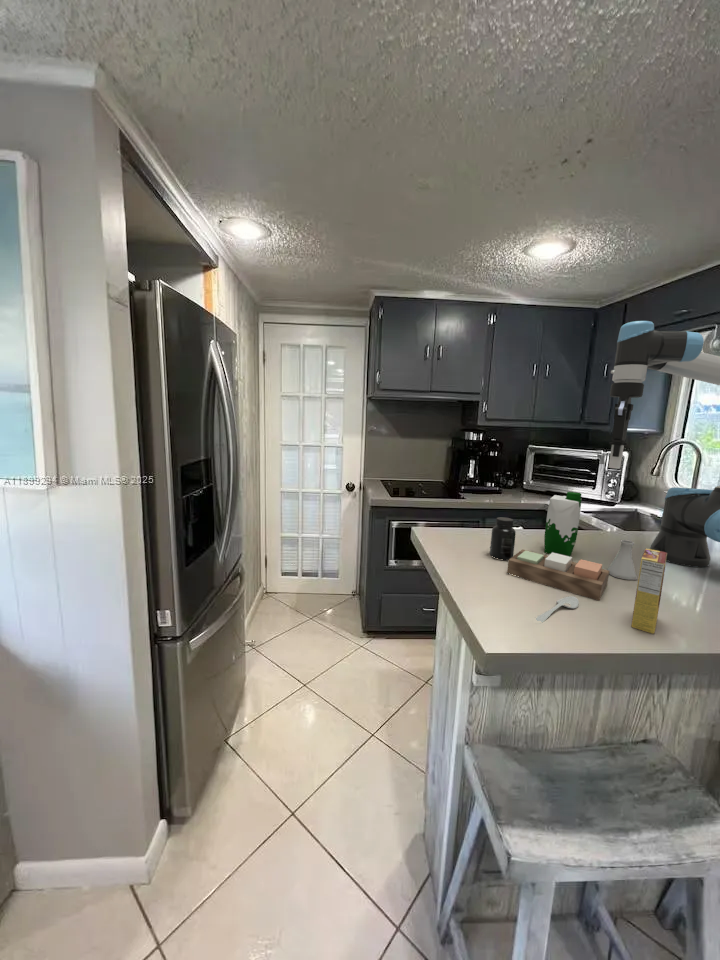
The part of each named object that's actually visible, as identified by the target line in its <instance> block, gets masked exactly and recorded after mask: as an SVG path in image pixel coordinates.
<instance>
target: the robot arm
mask: <svg viewBox="0 0 720 960" xmlns="http://www.w3.org/2000/svg"><path fill="white" fill-rule="evenodd" d="M704 343H705V339H704V337H703V335H702V334H701V333H700V332H697V331H696V332H694V331H688V330H685V331H677V330H676V331H672V330H671V331H666V330H665V331H664V330H663V331H662V330H660V331H659V330H655V323H653V321H649V320H635V321H634V320H633V321H630V322H629V321H628V322H627V323H625V324H623V325H621V327H620V330H619V333H618V337H617V341H616V350H615V351H616V352H615V358H614V360H615V361H614V366H613V369H611V370H610V374H612V379H611V381H613V383H612V384H611V385H610V390H609V396H610V398H618V402H617V403H615V404H614V416H613V419H614V420H613V427H612V435H611V442H610V441H609V442H608V445H610V446H611V448H610V454H609V460H608V466H607V467H608V469H609V468H610V469H617V470H619V469H621V466H622V460H623V459H622V458H623V454H624V448H625V447H624V446H627V445H628V443H627V442H626V440H627V433H628V428H629V423H630V422H629V421H630V420H631V417H632V416H631V415H632V412H633V409H634V404H632V398H637V399H638V398H642V397H643V396H644V395H643V394H644V388H645V384H644V383H643V382H645V381H646V379H647V374H648V373H647V371H648V370H653V371H658V372H662V373H667V374H670V375H674V376H677V377H682V378H686V379H691V380H695V381H700V382H704V383H708V384H712V385H716V386H720V355H715V354H712V353H711V354H710V353H707V352H702V350H703V348H704ZM707 538H709V539H711V540H712V541H714V542H717V543H720V485H718V486H715V487H714V488H713V489H705V488H692V487H689V488H688V487H675V486H674V487H670V488H669V489H668V490H667V491H666V494H665V497H664V505H663V511H662V517H661V522H660V528H659V531H658V533H657V535H656V536H655V537H654V539H653V541H652V542H651V543H650V546H649V549H651V550H657V551H662V552H666V553H667V557H666V562H667V563H668V562H669V563H671V564H672V563H673V564H675V565H681V566H687V567H693V566H698V567H697V568H704V567H703V566H706V567H709V566H710V562H711V555H710V550H709V545H708V541H707ZM708 565H709V566H708Z"/></svg>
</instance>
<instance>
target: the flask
mask: <svg viewBox="0 0 720 960" xmlns="http://www.w3.org/2000/svg"><path fill="white" fill-rule="evenodd" d="M634 545H635V542H634V541H632V540H628V539H620V548H619V549H618V552H617V554H616V556H615V557H614V559H613V560H612V561H611V563H610V564H609V566H608V568H606V570H608V571H609V576H612V577H614V578H617V579H622V580H627V581H628V580H629V581H633V580H637V581H638V578H637V572H636V570H635V565H634V561H633V551H632V550H633V546H634Z"/></svg>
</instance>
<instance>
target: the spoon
mask: <svg viewBox="0 0 720 960" xmlns="http://www.w3.org/2000/svg"><path fill="white" fill-rule="evenodd" d="M556 603H557V604H556V605H555V606H554V607H552V608H549V609H548V610H546V611H545V612H543V613H541V614H540V615H537V616H536V617H537V618H536V617H535V618H536V620H537V621H541V622H542V623H543V622H545V621H546V620H548V618H549V617H550V616H551V615H552V614H553V612H555V611H556V610H557V609H559V608H560V607H564V608H568V609H577V608H578V607H579V605H580V601H579V599H578V598H577V597H576V596H573V595H571V596H565V597H563V598H560V599H557V601H556ZM566 604H569V605H570V606H569V605H566Z"/></svg>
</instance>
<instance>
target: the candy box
mask: <svg viewBox="0 0 720 960" xmlns="http://www.w3.org/2000/svg"><path fill="white" fill-rule="evenodd" d="M666 557H667V553H666V552H662V551H657V550H651V549H650V548H645V549H644V550H643V554H642V556H641V560H640V565H639V572H638V578H637V585H636V592H635V593H636V594H635V596H634V597H635V598H634V605H633V612H632V618H631V619H632V620H631V626H630V627H631V628H633V629H636V630H639V631H643V632H645V633H649V634H652V635H653V634H654V635H655V631H656V627H657V621H658V616H659V610H660V604H661V598H662V597H661V596H662V591H663V585H664V584H663V583H664V577H665V570H666V563H667V561H666Z"/></svg>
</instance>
